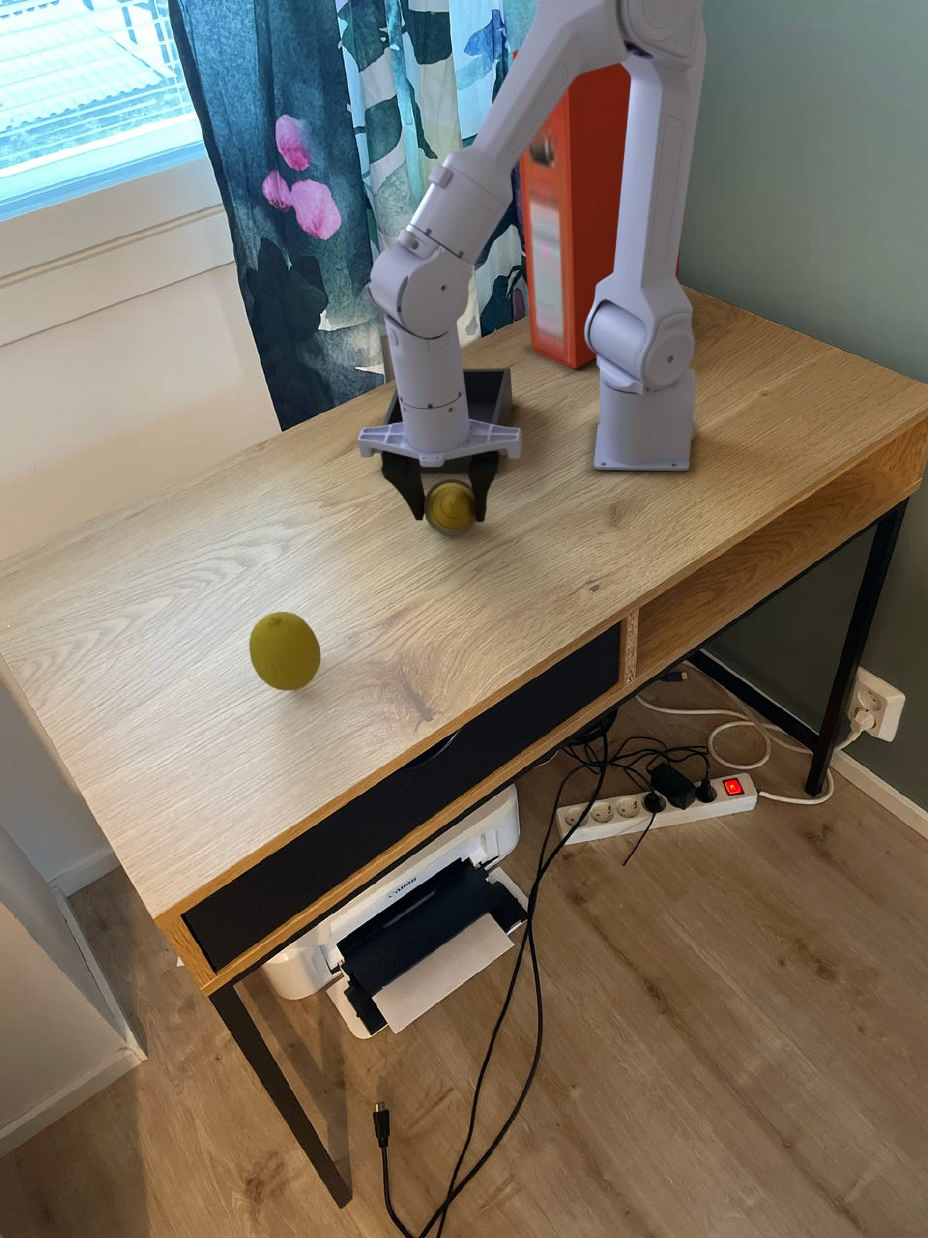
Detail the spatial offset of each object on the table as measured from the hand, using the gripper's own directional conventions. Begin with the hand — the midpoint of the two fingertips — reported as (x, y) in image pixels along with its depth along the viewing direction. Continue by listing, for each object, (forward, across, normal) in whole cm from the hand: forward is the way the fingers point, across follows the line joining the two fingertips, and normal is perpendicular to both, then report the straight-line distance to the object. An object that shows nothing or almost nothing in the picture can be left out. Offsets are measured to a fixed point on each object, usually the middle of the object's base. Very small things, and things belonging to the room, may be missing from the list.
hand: (450, 514), depth 86 cm
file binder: (+2, +12, +38) cm, 41 cm away
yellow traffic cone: (+2, +1, 0) cm, 2 cm away
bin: (+2, -3, +16) cm, 16 cm away
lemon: (+2, -10, -20) cm, 22 cm away
